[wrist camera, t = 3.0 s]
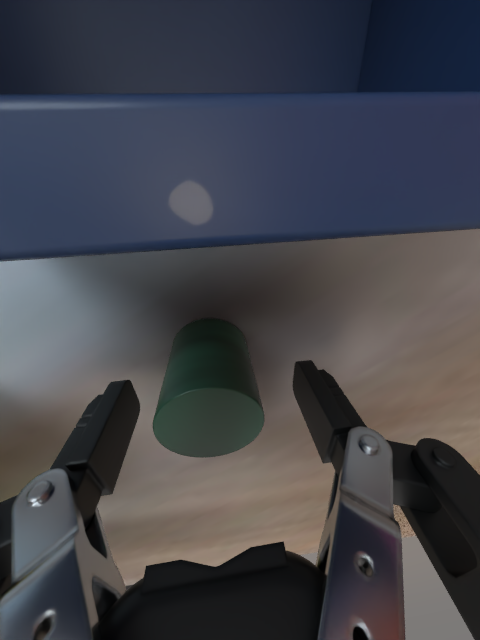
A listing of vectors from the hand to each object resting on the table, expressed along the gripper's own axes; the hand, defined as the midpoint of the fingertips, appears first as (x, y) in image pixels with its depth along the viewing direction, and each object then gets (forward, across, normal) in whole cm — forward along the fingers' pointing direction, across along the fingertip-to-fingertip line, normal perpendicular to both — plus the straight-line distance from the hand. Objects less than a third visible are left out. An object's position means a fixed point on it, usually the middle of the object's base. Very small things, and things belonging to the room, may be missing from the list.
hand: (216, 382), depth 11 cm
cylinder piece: (+3, 0, 0) cm, 3 cm away
